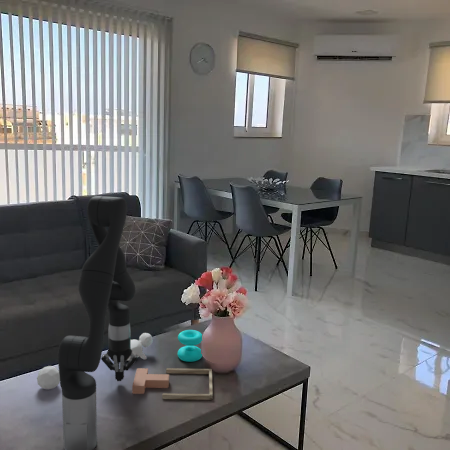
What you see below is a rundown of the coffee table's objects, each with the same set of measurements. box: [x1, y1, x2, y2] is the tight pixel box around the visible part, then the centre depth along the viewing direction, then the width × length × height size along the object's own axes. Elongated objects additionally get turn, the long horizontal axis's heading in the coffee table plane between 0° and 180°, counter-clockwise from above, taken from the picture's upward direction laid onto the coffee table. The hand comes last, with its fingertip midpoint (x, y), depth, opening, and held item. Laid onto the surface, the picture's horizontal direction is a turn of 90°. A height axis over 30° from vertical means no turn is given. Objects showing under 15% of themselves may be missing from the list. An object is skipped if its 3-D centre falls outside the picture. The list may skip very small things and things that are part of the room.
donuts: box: [177, 329, 203, 363], centre depth 193 cm, size 10×10×10 cm
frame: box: [161, 367, 214, 401], centre depth 174 cm, size 18×17×2 cm
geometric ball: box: [36, 365, 60, 391], centre depth 168 cm, size 8×8×8 cm
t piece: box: [131, 367, 170, 395], centre depth 173 cm, size 12×12×3 cm
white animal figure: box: [126, 332, 154, 362], centre depth 192 cm, size 9×8×15 cm
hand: (119, 380), depth 173 cm, fingers closed
